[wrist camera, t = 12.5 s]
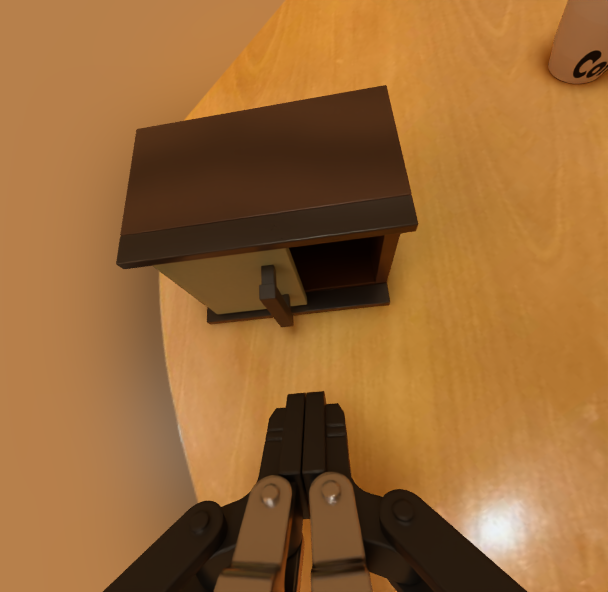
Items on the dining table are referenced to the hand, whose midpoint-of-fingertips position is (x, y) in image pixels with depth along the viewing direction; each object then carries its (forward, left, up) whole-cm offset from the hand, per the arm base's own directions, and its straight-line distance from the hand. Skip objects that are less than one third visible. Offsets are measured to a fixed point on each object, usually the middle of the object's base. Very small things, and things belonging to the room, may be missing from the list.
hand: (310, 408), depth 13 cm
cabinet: (-2, +14, -13) cm, 19 cm away
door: (-5, +8, -12) cm, 15 cm away
